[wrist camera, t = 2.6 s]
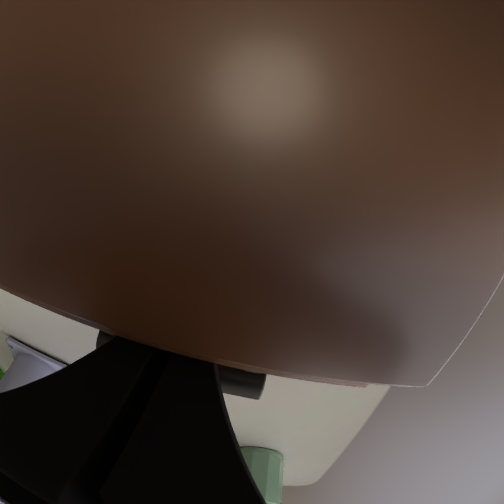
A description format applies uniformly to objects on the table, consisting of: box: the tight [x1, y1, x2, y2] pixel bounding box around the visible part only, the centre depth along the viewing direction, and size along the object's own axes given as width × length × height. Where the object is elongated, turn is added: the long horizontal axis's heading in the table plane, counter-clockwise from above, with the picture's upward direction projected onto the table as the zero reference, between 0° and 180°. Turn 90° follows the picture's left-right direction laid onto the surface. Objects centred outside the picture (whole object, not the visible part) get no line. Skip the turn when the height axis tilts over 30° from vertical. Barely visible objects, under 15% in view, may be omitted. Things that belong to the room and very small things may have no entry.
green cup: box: [240, 447, 284, 504], centre depth 23 cm, size 5×5×6 cm
